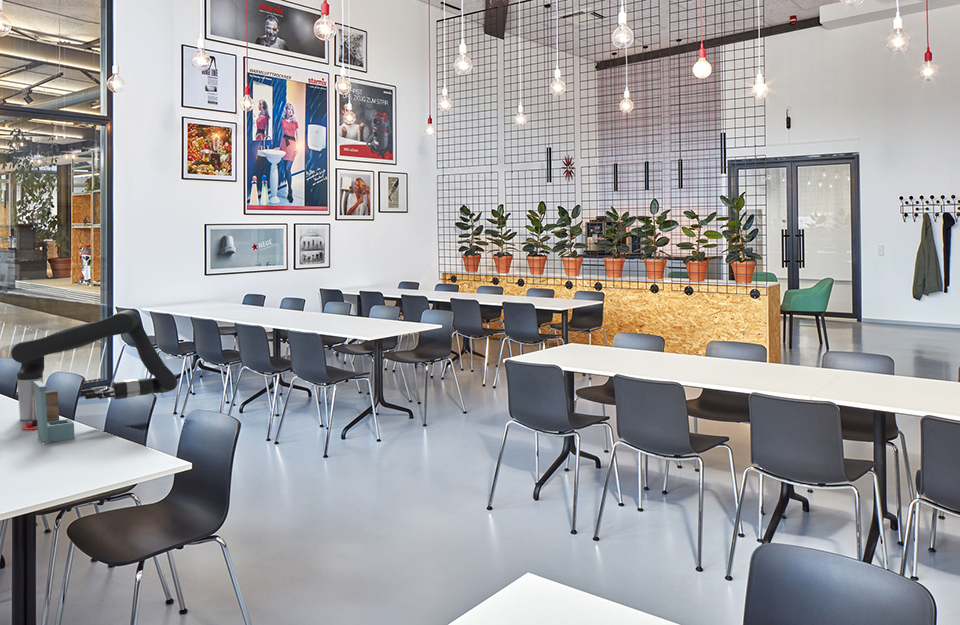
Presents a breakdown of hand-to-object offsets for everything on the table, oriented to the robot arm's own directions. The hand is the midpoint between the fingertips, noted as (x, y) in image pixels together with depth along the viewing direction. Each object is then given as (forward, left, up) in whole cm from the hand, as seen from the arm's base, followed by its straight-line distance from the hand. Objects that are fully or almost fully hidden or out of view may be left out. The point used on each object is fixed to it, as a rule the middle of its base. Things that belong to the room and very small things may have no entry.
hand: (82, 395), depth 291 cm
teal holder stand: (+13, -11, -13) cm, 22 cm away
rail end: (0, -11, -13) cm, 17 cm away
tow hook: (-11, -16, -13) cm, 24 cm away
